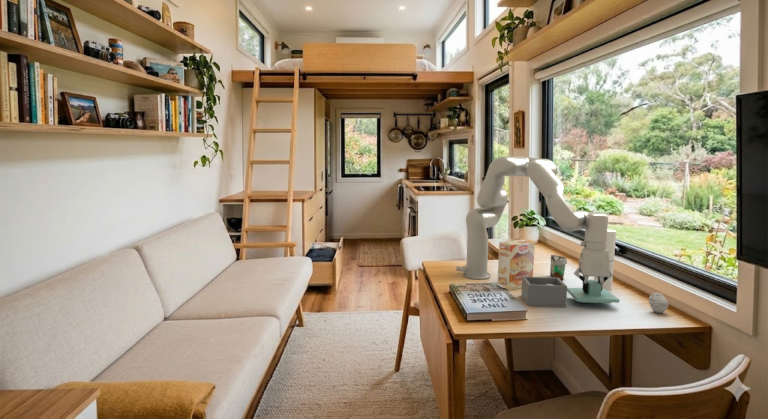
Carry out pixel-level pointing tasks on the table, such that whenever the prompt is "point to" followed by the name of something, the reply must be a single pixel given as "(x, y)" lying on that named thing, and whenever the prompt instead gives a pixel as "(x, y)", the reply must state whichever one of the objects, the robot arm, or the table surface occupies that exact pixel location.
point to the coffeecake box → (515, 262)
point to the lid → (593, 294)
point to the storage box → (544, 291)
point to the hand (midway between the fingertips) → (591, 292)
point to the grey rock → (658, 302)
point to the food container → (557, 267)
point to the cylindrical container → (611, 249)
